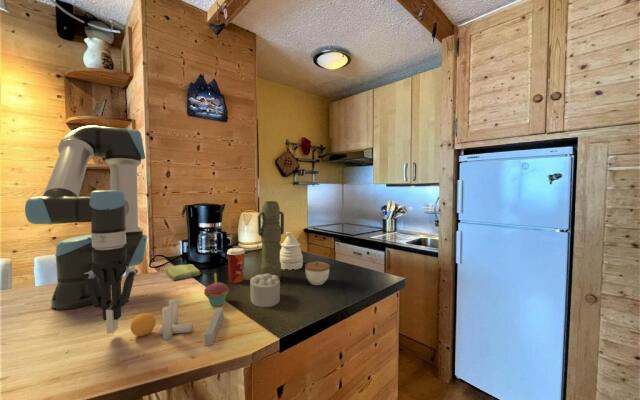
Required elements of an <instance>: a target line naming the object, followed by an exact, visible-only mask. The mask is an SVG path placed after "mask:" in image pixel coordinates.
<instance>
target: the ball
mask: <svg viewBox="0 0 640 400" xmlns="http://www.w3.org/2000/svg"><path fill="white" fill-rule="evenodd" d="M156 322H157V321H156V317H155V316H154V315H153V314H151V313H149V312H143V313H140V314H138V315H136V316H135V317H134V318H133V320H132V321H131V322H130V331H131V333H132V334H133V335H134V336H137V337H144V336H147V335H148V334H150V333H152V331H153V330H154V329H155V327H156Z"/></svg>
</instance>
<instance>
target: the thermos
mask: <svg viewBox="0 0 640 400" xmlns="http://www.w3.org/2000/svg"><path fill="white" fill-rule="evenodd" d="M261 210H262V211H261V212H259V213H258V215H257V234H258V235H259V237H260V241H261V264H260V274H268V273H269V274H271V275H277V276H278V279H279V280H281V278H282V276H281V274H282V269H281V262H280V250H281V240H282V235H284V234H285V233H284V232H285V213H284V212H283V211H281V209H280V205H279V202H278V201H275V200H273V201H271V200H270V201H267V200H266V201H265V202H263V205H262V209H261Z"/></svg>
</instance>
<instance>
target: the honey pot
mask: <svg viewBox="0 0 640 400" xmlns="http://www.w3.org/2000/svg"><path fill="white" fill-rule="evenodd" d="M291 233H292V232H291V231H286V232H285V236H286V237H285V239H284V241H283V242H282V243H280V262H281V270H285V269H288V270H287V271H289V270H290V271H292V269H294V270H300V269H301V268H303V267H302V266H303V263H304V260H303V257H304V256H303V254H302V252H303V251H302V249H301V247H300V246H301V243H300V242H298V240H297V238H296V237H295V236H294V235H293V234H291Z"/></svg>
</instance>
